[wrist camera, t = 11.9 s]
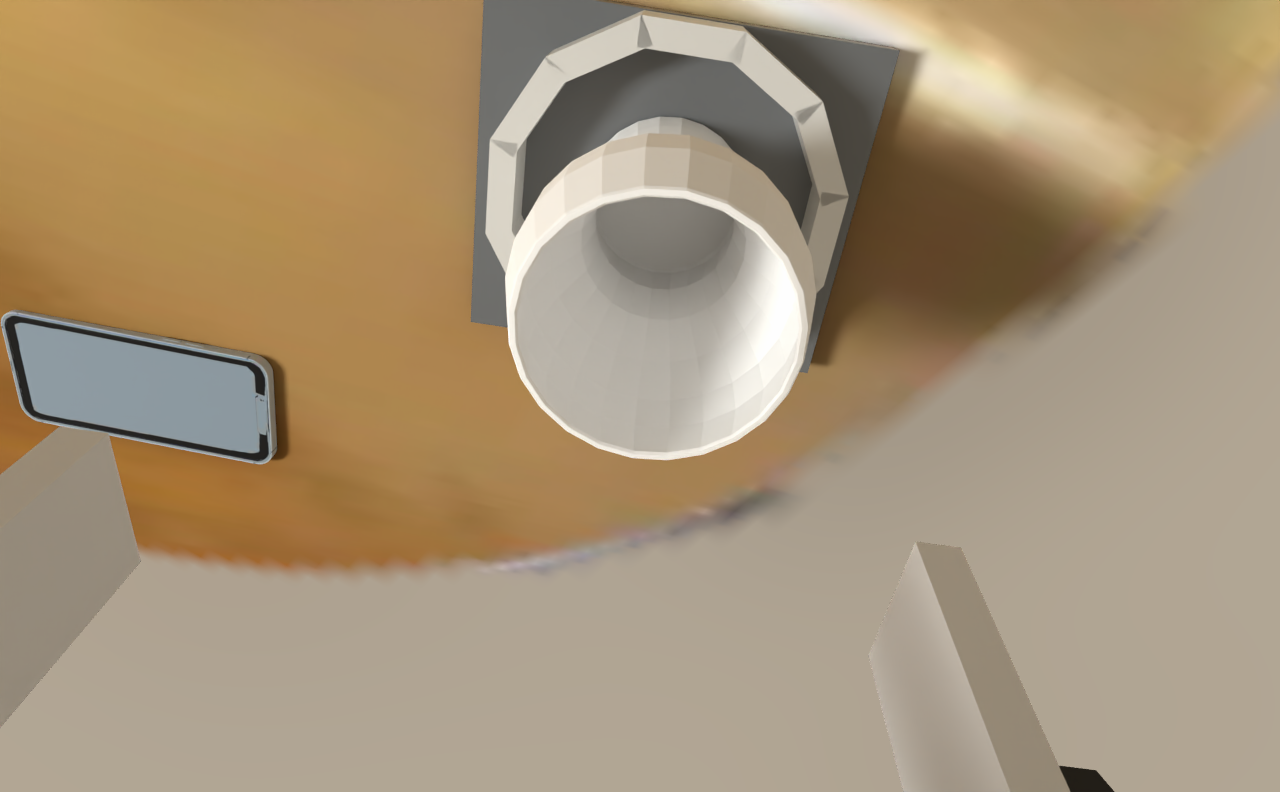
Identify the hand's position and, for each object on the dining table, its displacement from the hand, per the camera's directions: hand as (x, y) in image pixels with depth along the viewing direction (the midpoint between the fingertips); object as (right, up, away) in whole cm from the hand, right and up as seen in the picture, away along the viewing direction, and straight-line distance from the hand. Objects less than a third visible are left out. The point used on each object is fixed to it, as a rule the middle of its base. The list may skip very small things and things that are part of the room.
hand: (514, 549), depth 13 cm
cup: (+3, +12, +25) cm, 28 cm away
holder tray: (+3, +13, +26) cm, 29 cm away
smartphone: (-27, +3, +33) cm, 43 cm away
